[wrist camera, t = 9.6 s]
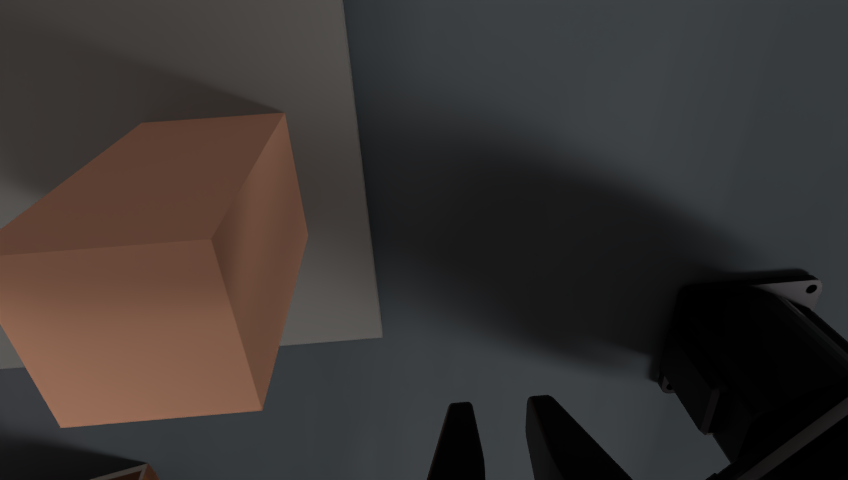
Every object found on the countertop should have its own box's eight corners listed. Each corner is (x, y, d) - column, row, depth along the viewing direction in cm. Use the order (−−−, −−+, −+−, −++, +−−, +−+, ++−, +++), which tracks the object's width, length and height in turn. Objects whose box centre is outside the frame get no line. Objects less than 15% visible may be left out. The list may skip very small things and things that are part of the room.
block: (284, 112, 19) (211, 239, 11) (308, 235, 21) (261, 410, 13) (141, 123, 18) (-39, 258, 11) (182, 245, 21) (61, 428, 13)
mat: (334, -71, 16) (332, -71, 16) (382, 329, 24) (382, 337, 24) (-260, -34, 16) (-283, -33, 15) (-13, 361, 24) (-21, 370, 23)
